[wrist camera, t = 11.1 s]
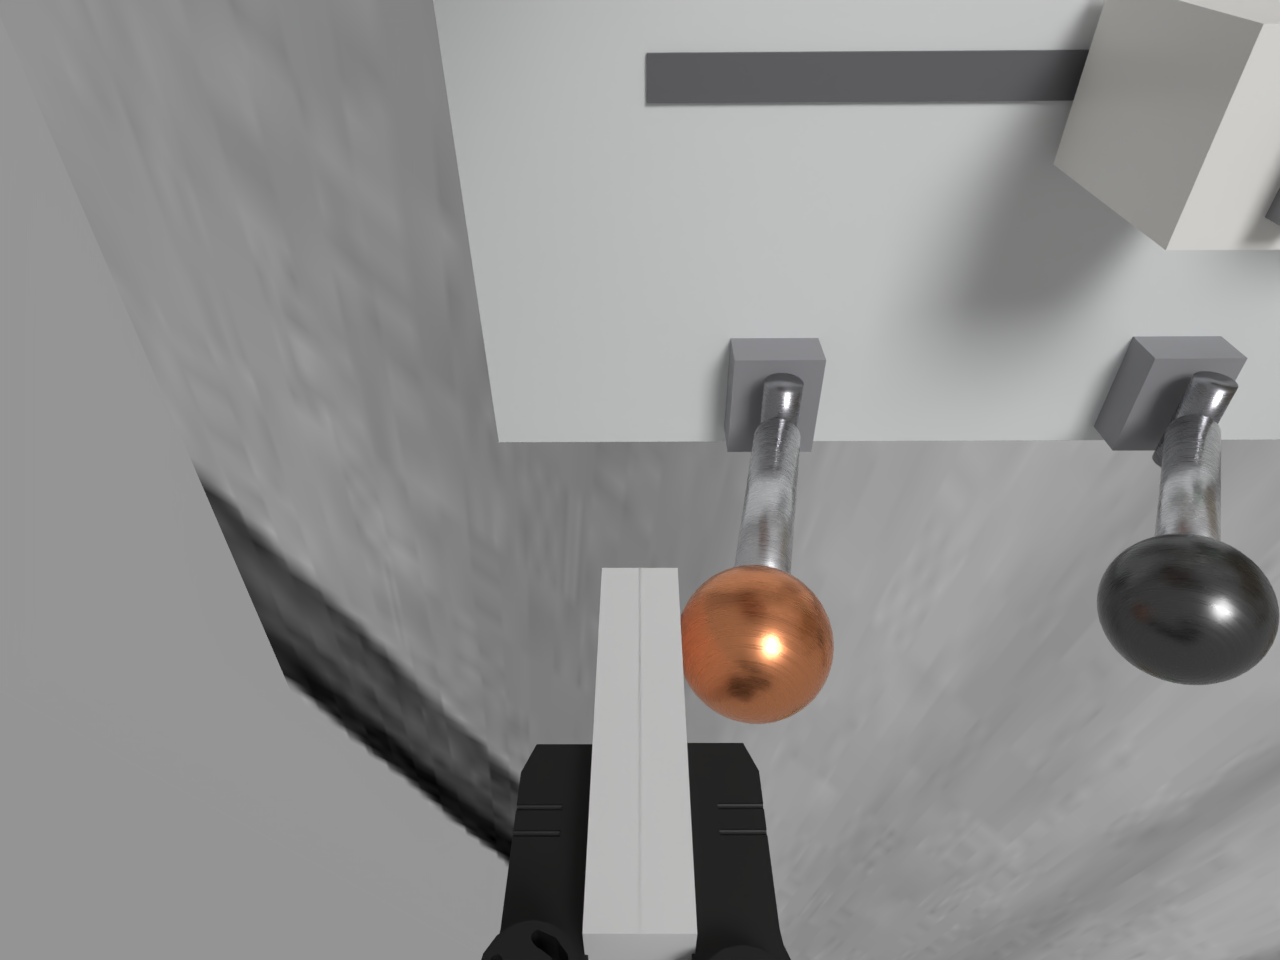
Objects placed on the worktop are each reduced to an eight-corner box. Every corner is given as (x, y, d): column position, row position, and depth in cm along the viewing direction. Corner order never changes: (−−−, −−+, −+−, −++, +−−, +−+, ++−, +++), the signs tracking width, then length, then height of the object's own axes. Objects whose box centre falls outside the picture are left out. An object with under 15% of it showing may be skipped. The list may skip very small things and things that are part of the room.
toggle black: (1153, 351, 21) (1122, 576, 14) (1288, 380, 20) (1320, 640, 13) (1111, 442, 23) (1067, 677, 16) (1232, 474, 21) (1235, 741, 15)
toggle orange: (728, 360, 20) (665, 640, 13) (845, 372, 20) (845, 668, 13) (721, 452, 22) (663, 741, 15) (828, 464, 22) (820, 769, 15)
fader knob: (1111, -19, 16) (1288, 31, 11) (1289, -21, 16) (1534, 29, 11) (1053, 164, 18) (1183, 263, 14) (1209, 163, 18) (1389, 262, 14)
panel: (457, -66, 19) (411, -45, 15) (1513, -73, 18) (1728, -55, 15) (513, 380, 26) (492, 466, 23) (1256, 378, 26) (1355, 463, 23)
